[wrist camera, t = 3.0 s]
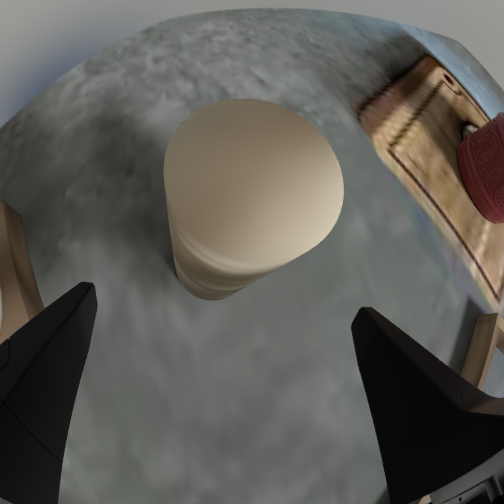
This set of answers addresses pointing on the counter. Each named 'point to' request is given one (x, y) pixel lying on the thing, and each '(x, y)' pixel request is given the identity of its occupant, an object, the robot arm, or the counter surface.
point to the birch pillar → (246, 194)
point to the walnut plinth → (15, 276)
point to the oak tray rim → (480, 355)
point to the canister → (485, 168)
